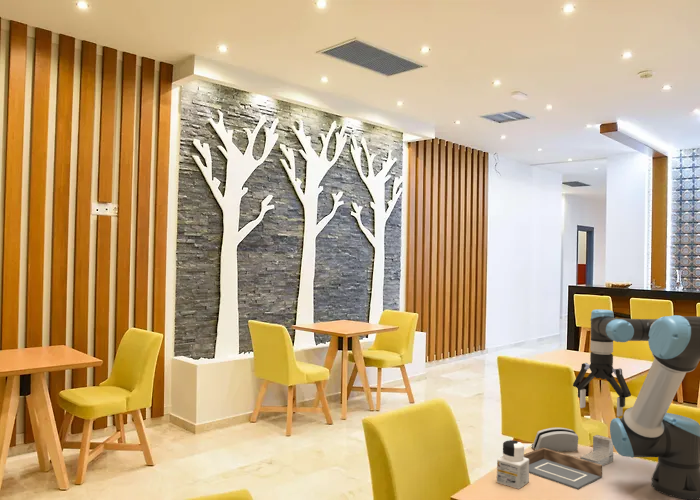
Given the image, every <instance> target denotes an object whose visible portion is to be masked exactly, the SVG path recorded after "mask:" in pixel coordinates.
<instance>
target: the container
mask: <svg viewBox="0 0 700 500" xmlns="http://www.w3.org/2000/svg"><path fill="white" fill-rule="evenodd" d="M524 454H525V445H524V443H522V442H520V441H517V440H514V439H513V440H511V439H509V440H506V441H504V442H502V456H500V457H499V458H497V459H496V461H497V462H496V482H497V484H500V485H504V486H507V487H511V488H514V489H518V490H520V489H521V488H523V487H524V486H525V485H527V484H528V483H529V481H530V473H529V459H528V458H524Z"/></svg>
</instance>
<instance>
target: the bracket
mask: <svg viewBox="0 0 700 500" xmlns="http://www.w3.org/2000/svg"><path fill="white" fill-rule="evenodd" d="M580 459H583V460H587V461H590V462H593V463H597V464H600V465H602V467H604V466H606V465H608V464H611V463H612V462H614V445H613V443H612V439H611V437H607V436H604V435H599V434H595V435H593V436H592V451H591V452H589V453H588V452H587V453H586V454H584V455H581V456H580Z"/></svg>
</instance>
